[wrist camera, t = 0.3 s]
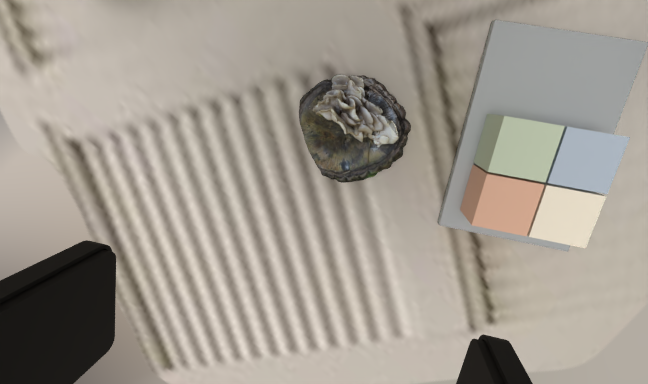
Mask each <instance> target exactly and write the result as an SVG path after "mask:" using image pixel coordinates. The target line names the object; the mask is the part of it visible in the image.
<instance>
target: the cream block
mask: <svg viewBox="0 0 648 384" xmlns="http://www.w3.org/2000/svg"><path fill="white" fill-rule="evenodd" d="M538 182H540V181H538ZM540 183H542V184H544V188H543V191H542V194H541V197H540V199H539V202H538V205H537V208H536V211H535V214H534V217H533V220H532V222H531V225H530V228H529V231H528V234H527V236H529V237H532V238H537V239H542V240H547V241H552V242H557V243H562V244H566V245H571V246H576V247H581V248H586V246H587V244H588V241H589V239H590V236H591V234H592V231H593V229H594V226H595V224H596V221H597V219H598V216H599V214H600V211H601V209H602V206H603V204H604V201H605V199H606V196H604V195H602V194H599V193H597V192H593V191H588V190H582V189H577V188H572V187H566V186H561V185H556V184H550V183H547V182H540Z"/></svg>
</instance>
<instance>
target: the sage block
mask: <svg viewBox="0 0 648 384" xmlns="http://www.w3.org/2000/svg"><path fill="white" fill-rule="evenodd" d="M564 127H565V126H561V125H555V124H549V123H544V122H538V121H532V120H526V119H520V118H514V117H509V116H502V115H494V114H487V117H486V120H485V124H484V127H483V131H482V134H481V138H480V141H479V145H478V148H477V152H476V155H475V159H474V162H473V163H475V164H477V165H478V166H480V167H481V168H483V169H484V170H486V171H487V172H492V173H497V174H502V175H508V176H513V177H518V178H524V179H529V180H534V181H540V182H546V179H547V176H548V173H549V171H550V168H551V165H552V162H553V159H554V156H555V153H556V150H557V148H558V145H559V142H560V139H561V136H562V133H563V130H564Z"/></svg>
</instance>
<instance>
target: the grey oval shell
mask: <svg viewBox="0 0 648 384" xmlns="http://www.w3.org/2000/svg"><path fill="white" fill-rule="evenodd" d="M299 108H300V109H299V118H300V125H301V128H302V131H303V134H304V138H305V142H306V144H307V147H308V150H309V152H310V154H311V155H312V158H313V159H314V161H315V163H316V165H317V166H318V168H319V169H320V170H321V173H322V175H323V176H327V177H329V178H331V179H336V180H337V181H339V182H352V181H359V180H364V179H366V178H369V177H373V176H375V175H376V174H377V173H378V172H380V171H382V170H383V169H387V168H390V167H391V164H392V163H393V162H394V161H396V160H397V159H399V158H400V157H402V155H403V147H404V146H405V145H406V142H407V140H408V137H407V135H408V133H409V132H410V130H411V125H410V123H409V121H407V120H406V119H405V115H406V112H405V110H404V108H403V106H400V105H399V104H398V103H397V101H396V98H395V97H394V96H393V95H391V94H389V92H388V91H387V89H386V88H385V86H384V85H383V84H381V83H379V82H378V81H376V80H375V79H374V78H368V77H366V76H349V77H347V76H345V75H343V74H339V75H335V76H334V77H333V78H332V79H331V80H324V81H322V82H320V83H318V84H317V85H316V86H315V87H314V88H312V89H311V90H310V91H309V92H308V93H306V94H305V95H304V96H303V97H302V99H301V100H300V107H299Z"/></svg>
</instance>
